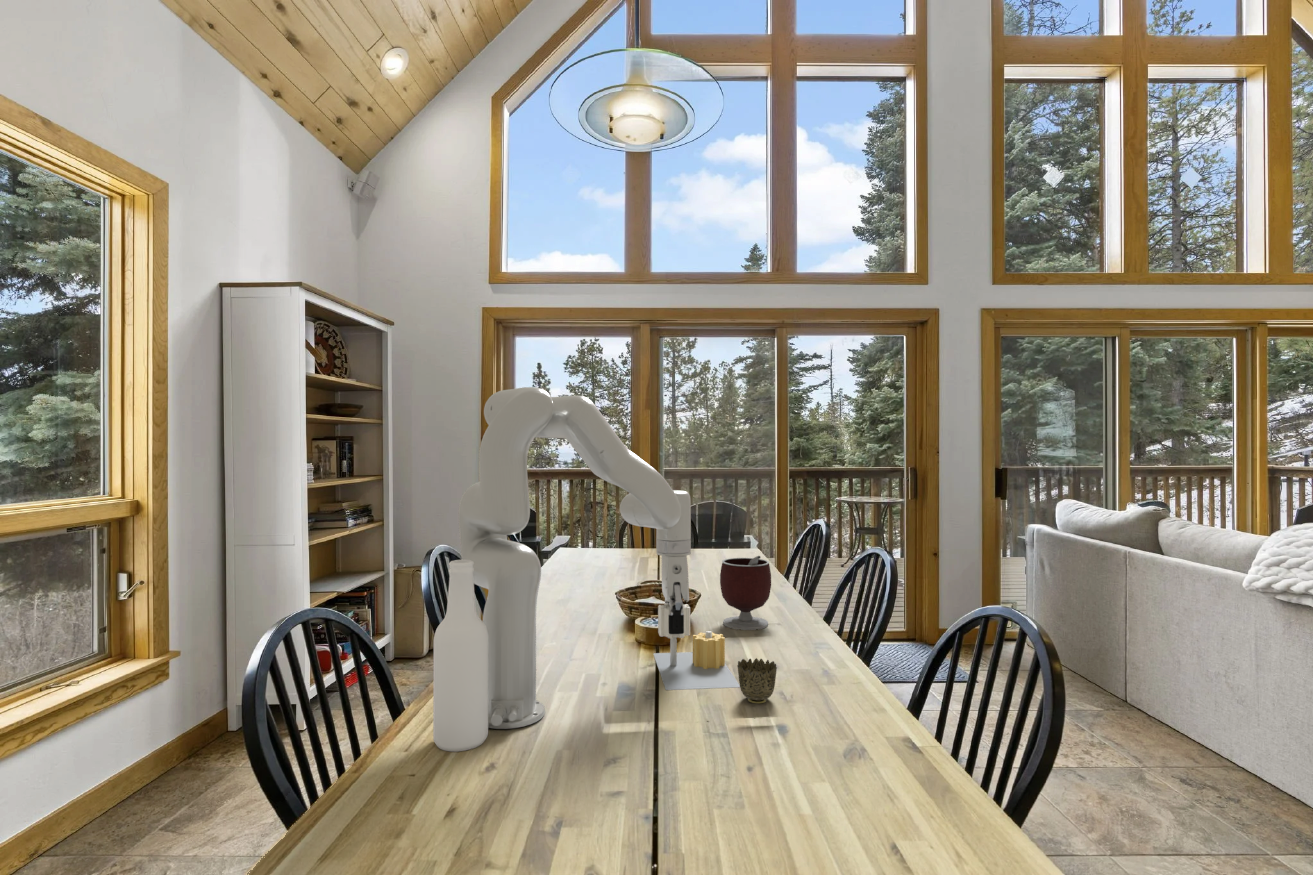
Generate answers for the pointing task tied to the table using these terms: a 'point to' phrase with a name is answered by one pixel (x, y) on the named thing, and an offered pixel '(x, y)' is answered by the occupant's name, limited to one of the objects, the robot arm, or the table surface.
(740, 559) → the mate gourd
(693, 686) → the gear board
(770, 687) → the cup
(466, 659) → the alcohol
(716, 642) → the ochre gear
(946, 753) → the table surface
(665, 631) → the cream gear
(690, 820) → the table surface
